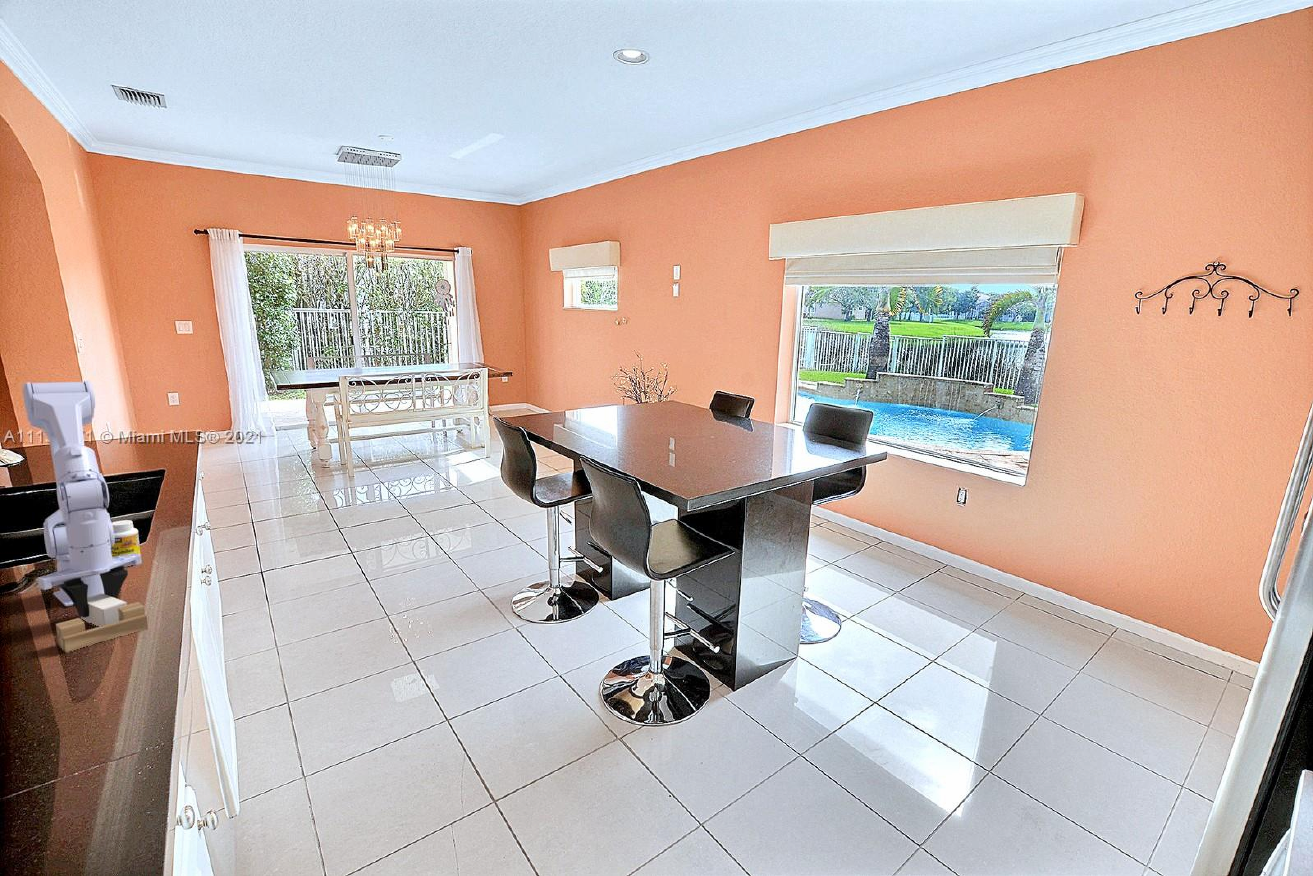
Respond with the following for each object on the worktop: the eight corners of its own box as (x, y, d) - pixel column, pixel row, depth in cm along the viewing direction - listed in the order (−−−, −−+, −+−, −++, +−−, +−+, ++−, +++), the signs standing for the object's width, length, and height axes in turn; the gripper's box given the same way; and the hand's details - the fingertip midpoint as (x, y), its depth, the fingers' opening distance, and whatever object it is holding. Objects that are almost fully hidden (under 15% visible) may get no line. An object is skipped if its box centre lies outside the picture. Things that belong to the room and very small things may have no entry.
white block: (81, 619, 113) (79, 600, 112) (104, 612, 116) (102, 593, 115) (106, 630, 109) (103, 609, 109) (129, 622, 112) (126, 602, 112)
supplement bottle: (107, 570, 135) (102, 527, 134) (112, 562, 140) (107, 520, 138) (139, 566, 138) (134, 524, 137) (143, 558, 143) (138, 517, 141)
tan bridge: (58, 645, 103) (55, 624, 103) (140, 621, 113) (138, 602, 112) (65, 653, 101) (62, 631, 101) (148, 628, 110) (146, 608, 110)
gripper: (48, 559, 103) (58, 632, 105) (147, 535, 116) (154, 601, 118) (28, 552, 106) (38, 623, 108) (127, 529, 119) (134, 594, 121)
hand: (97, 611), depth 113 cm, fingers closed on white block, 3 cm apart
